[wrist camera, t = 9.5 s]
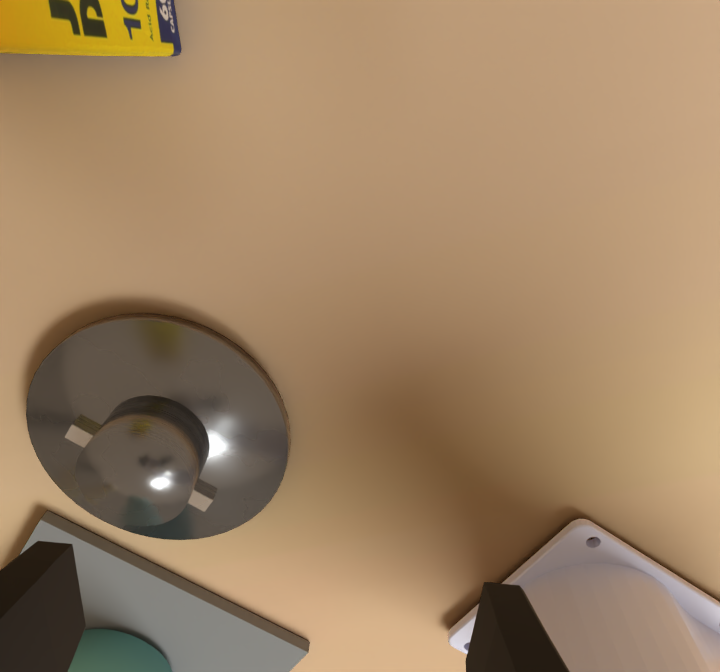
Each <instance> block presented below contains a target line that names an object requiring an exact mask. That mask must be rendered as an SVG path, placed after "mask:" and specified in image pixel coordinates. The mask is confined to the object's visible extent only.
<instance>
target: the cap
mask: <svg viewBox="0 0 720 672" xmlns="http://www.w3.org/2000/svg"><path fill="white" fill-rule="evenodd" d="M68 672H172V670H171V667H170V665H169V664H168V662H167V660H166V659H165V658H164V657H163V656H162V654H160V653H159V652H158V651H157V650H156V649H155V648H154V647H152V646H151V645H149V644H148V643H146V642H145V641H143V640H141V639H139V638H137V637H134V636H132V635H129V634H126V633H123V632H119V631H115V630H109V629H90V630H84V632H83V634H82V637H81V640H80V642H79V645H78V647H77V650H76V652H75V655H74V657H73V660H72V662H71V665H70V667H69V669H68Z"/></svg>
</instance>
